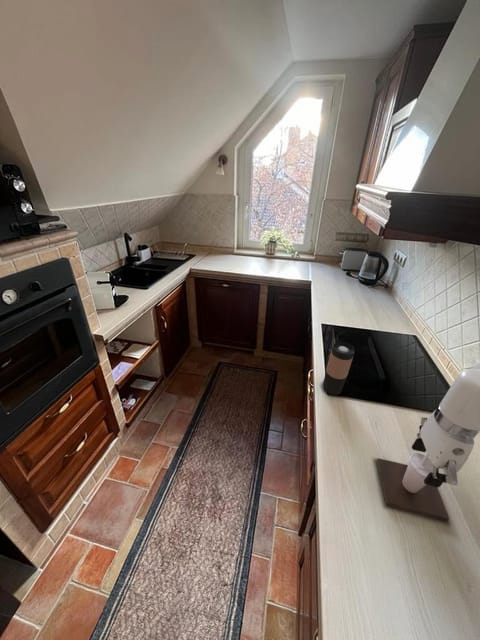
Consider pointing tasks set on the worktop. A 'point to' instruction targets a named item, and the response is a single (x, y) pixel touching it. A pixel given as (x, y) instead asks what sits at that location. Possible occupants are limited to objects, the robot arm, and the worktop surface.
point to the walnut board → (401, 498)
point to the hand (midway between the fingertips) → (424, 465)
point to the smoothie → (417, 472)
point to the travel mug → (338, 367)
